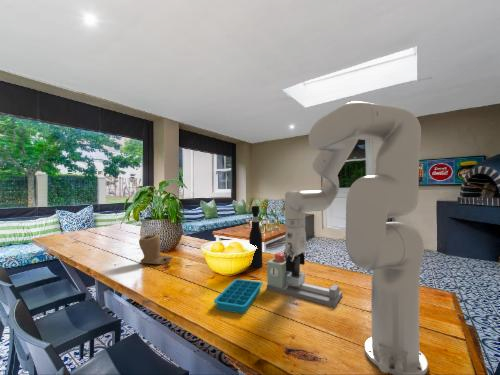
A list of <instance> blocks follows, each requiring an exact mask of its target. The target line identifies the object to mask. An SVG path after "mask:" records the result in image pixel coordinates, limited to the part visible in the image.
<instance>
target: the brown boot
mask: <svg viewBox="0 0 500 375" xmlns="http://www.w3.org/2000/svg"><path fill="white" fill-rule="evenodd" d="M138 243H139V246H140V247H139V248H140V250H141V251H142V253H143V258H142V259H141V260H140V263H142V264H150V265H151V264H153V265H165V264H168V263H169V262H170V261H172V259H173V256H169V255H161V252H160V251H161V239H160V236H159V234H157V233H156V234H155V233H154V234H148V235H145V236H142V237H141V238H139V240H138Z"/></svg>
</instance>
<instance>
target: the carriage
mask: <svg viewBox="0 0 500 375" xmlns="http://www.w3.org/2000/svg"><path fill="white" fill-rule="evenodd" d="M290 256H291V257H292V255H290ZM293 261H294V270H295V271H294V272H291V273H289V274H288V275H287V276H286V283H287V284H288V286H292V287H296V288H301V284H302V283H305V282H306V273H304V272H301V264H300V256H298V255H296V254H295V256H294V260H293Z"/></svg>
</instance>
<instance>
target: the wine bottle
mask: <svg viewBox="0 0 500 375" xmlns="http://www.w3.org/2000/svg"><path fill="white" fill-rule="evenodd" d="M259 213H260V205H252V206H251V214H252V219H251V220H252V221H251V229H250V233H249V239H248V240H249V243H250V244H252V245H254V246H255V245H256V246H257V248H258V249H256V251H255V253H254V256H253V260H252V263H251V265H250V264H249V267H250V268H251V269H259V268H262V267H263V235H262V231H261V228H260V220H259ZM256 246H255V247H256Z"/></svg>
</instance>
